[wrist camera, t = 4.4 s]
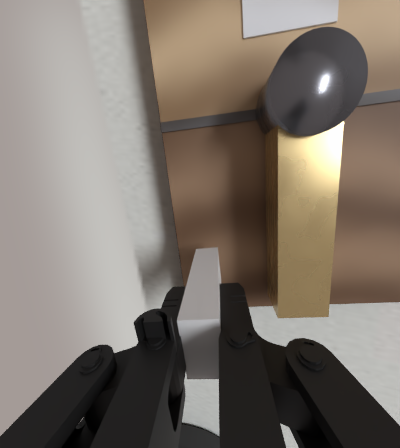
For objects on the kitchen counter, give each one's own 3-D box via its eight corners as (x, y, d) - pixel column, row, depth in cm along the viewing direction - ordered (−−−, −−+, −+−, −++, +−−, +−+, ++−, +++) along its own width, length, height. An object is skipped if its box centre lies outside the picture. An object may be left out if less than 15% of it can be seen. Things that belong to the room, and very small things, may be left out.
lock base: (399, 285, 16) (426, 301, 14) (190, 293, 18) (186, 309, 16) (495, -235, 9) (578, -356, 7) (133, -129, 11) (114, -199, 9)
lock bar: (255, 73, 11) (269, 36, 8) (329, 61, 10) (373, 17, 7) (260, 294, 14) (272, 324, 11) (316, 291, 14) (342, 322, 11)
